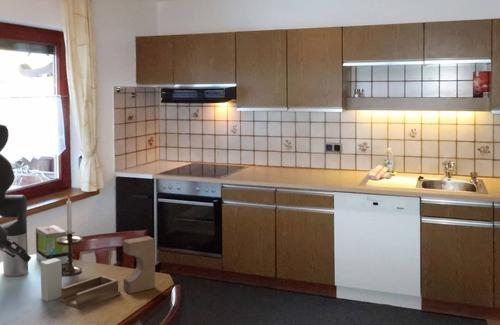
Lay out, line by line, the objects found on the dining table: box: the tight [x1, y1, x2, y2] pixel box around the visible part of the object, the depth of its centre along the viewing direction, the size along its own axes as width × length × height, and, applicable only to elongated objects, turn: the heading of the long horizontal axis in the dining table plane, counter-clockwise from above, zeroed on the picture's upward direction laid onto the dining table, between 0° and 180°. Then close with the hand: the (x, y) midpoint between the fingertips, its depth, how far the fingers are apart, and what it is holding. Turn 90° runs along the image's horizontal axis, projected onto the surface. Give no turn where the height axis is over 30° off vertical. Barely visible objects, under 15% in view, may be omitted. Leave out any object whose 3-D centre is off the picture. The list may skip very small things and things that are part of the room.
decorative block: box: [122, 235, 156, 295], centre depth 206 cm, size 11×6×20 cm, turn 127°
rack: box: [59, 274, 121, 310], centre depth 198 cm, size 12×18×5 cm, turn 144°
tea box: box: [35, 224, 69, 265], centre depth 238 cm, size 15×10×15 cm, turn 39°
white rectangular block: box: [39, 258, 63, 302], centre depth 196 cm, size 4×6×14 cm, turn 144°
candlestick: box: [56, 190, 84, 277], centre depth 222 cm, size 11×11×35 cm
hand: (21, 257), depth 186 cm, fingers open, 8 cm apart
